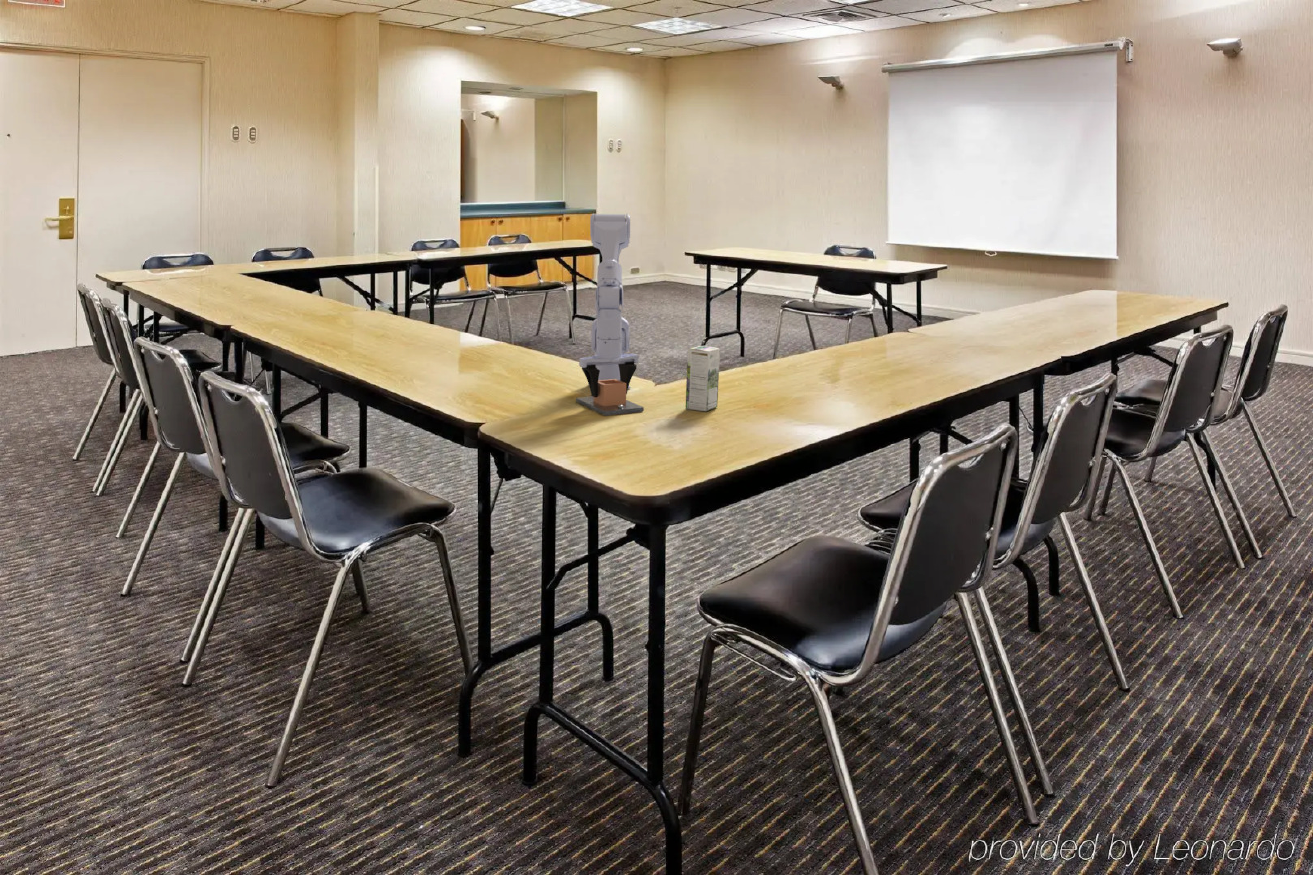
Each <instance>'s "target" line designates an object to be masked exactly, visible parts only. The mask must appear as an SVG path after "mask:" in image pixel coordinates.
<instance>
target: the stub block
mask: <svg viewBox="0 0 1313 875" xmlns="http://www.w3.org/2000/svg"><path fill="white" fill-rule="evenodd" d="M575 402H576V403H578V404H580V405H582V406H584V407H586V408H588V409H589V410H592V411H594V412H596V413H598V414H600V415H602V416H604V417H608V416H614V415H615V414H617V415H625V414H632V413H634V414H635V413H642V412H643V411H644V410H645V409H644V407H643V406H642V405H639V404H637V403H635V402H632V401H630V400H628V399H626V404H621V405H612V406H602V405H600V404H598V403H596V402H594V401H593V396H591V395H590V396H584V397H583V396H582V397H576V398H575ZM615 416H616V415H615Z"/></svg>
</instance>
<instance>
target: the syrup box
mask: <svg viewBox="0 0 1313 875" xmlns="http://www.w3.org/2000/svg"><path fill="white" fill-rule="evenodd" d="M720 351H721V349H720V348H719V347H714V346H710V345H698V346H695V347H692V348H688V349H687V358H686V359H687V360H686V361H687V362H686V383H685V384H686V385H685V386H686V387H685V388H686V390H685V409H686V410H692V411H698V412H709V411H711V410H714V409H716V408H718V399H719V381H720V377H719V376H720V375H719V374H720V353H721V352H720Z"/></svg>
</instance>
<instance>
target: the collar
mask: <svg viewBox="0 0 1313 875" xmlns="http://www.w3.org/2000/svg"><path fill="white" fill-rule="evenodd" d="M626 400H627V394H626V383H625V382H622V381H620V380H617V379H608V380H598V397H593V401H594V402H596V403H598V404H600V405H602V406H612V405H621V404H626Z"/></svg>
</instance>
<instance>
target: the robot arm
mask: <svg viewBox="0 0 1313 875" xmlns="http://www.w3.org/2000/svg"><path fill="white" fill-rule="evenodd" d="M589 219H590V220H589V221H590V222H589V223H590V224H589V226H590V227H589V229H590V230H589V231H590V233H589V234H590V239H591V240H590V241H591V244H592V247H594V248H595V249H598V250H599V251H600V255H601V257H602V258H601V260H602V261H601V262H600V263H599V264H598V265H597V270H596V271H597V273H596V274H597V275H596V276H597V277H596V278H597V280H596V288H595V291H594V307H595V314H596V318H595V319H594V320H593V321H592V323H591V332H590V336H591V337H590V338H591V339H590V346H591V349H590V350H592V352H593V353H594V354H593V355H592V356H587V357H580V358H578V360H579V361H578V362H579V363H578V364H579V365H578V367H580V368H581V370H582V372H583V373H584V376H585V378H586V381H587V385H588V386H589V390H590V397H591V396H593V397H598V380H608V379H617V380H620V381H622V382H625V383H626V395H627V394H628V390H629V389H631V385H630V383H631V380H632V377H633V376H634V373H635V372H636V370H637V368H638V366H637V364H639V359H640V358H639V354H636V353H628V352H629V351H630V338H631V337H630V334H631V333H630V323H629V321H628V320H627V319H626V318H624V317H623V316H622V315H623V314H622V311H624V286H623V280H622V279H623V270H622V269H623V268H622V265H621V264H620V255H621V253H622V250H624V249H626V248H629V244H630V238H631V216H630V215H629V213H626V214H623V213H622V214H617V213H616V214H613V213H611V214H609V213H606V214H605V213H592V214H591V215H590V218H589ZM620 306H621V309H620Z"/></svg>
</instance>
